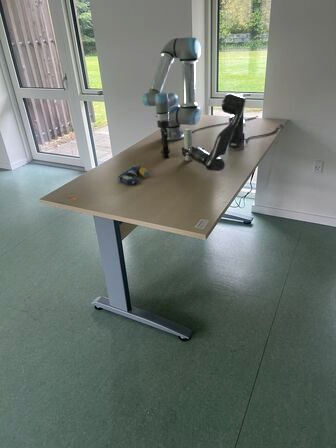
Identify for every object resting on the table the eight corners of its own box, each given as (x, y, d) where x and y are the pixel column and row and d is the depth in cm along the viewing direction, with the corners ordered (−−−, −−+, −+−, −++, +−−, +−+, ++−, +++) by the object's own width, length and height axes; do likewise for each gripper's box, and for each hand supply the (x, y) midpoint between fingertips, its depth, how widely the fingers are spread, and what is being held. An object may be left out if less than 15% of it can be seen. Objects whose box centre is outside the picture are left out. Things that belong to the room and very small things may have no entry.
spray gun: (155, 171, 194) (133, 169, 200) (154, 165, 192) (132, 163, 198) (137, 187, 179) (114, 184, 185) (136, 180, 176) (112, 177, 183)
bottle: (183, 160, 208) (182, 129, 198) (187, 157, 211) (186, 127, 201) (190, 161, 205) (189, 130, 196) (194, 158, 209) (193, 128, 199)
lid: (171, 153, 213) (171, 150, 212) (162, 154, 212) (162, 151, 211) (168, 150, 218) (168, 147, 217) (159, 152, 216) (159, 149, 215)
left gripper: (155, 117, 212) (158, 152, 224) (158, 124, 196) (161, 161, 208) (167, 116, 213) (169, 151, 225) (171, 123, 197) (173, 160, 208)
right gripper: (210, 146, 194) (196, 139, 207) (188, 152, 189) (175, 144, 203) (210, 159, 198) (196, 151, 211) (189, 164, 193) (176, 156, 207)
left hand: (165, 156), depth 216 cm, fingers closed on lid, 6 cm apart
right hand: (186, 148), depth 207 cm, fingers closed on bottle, 4 cm apart
